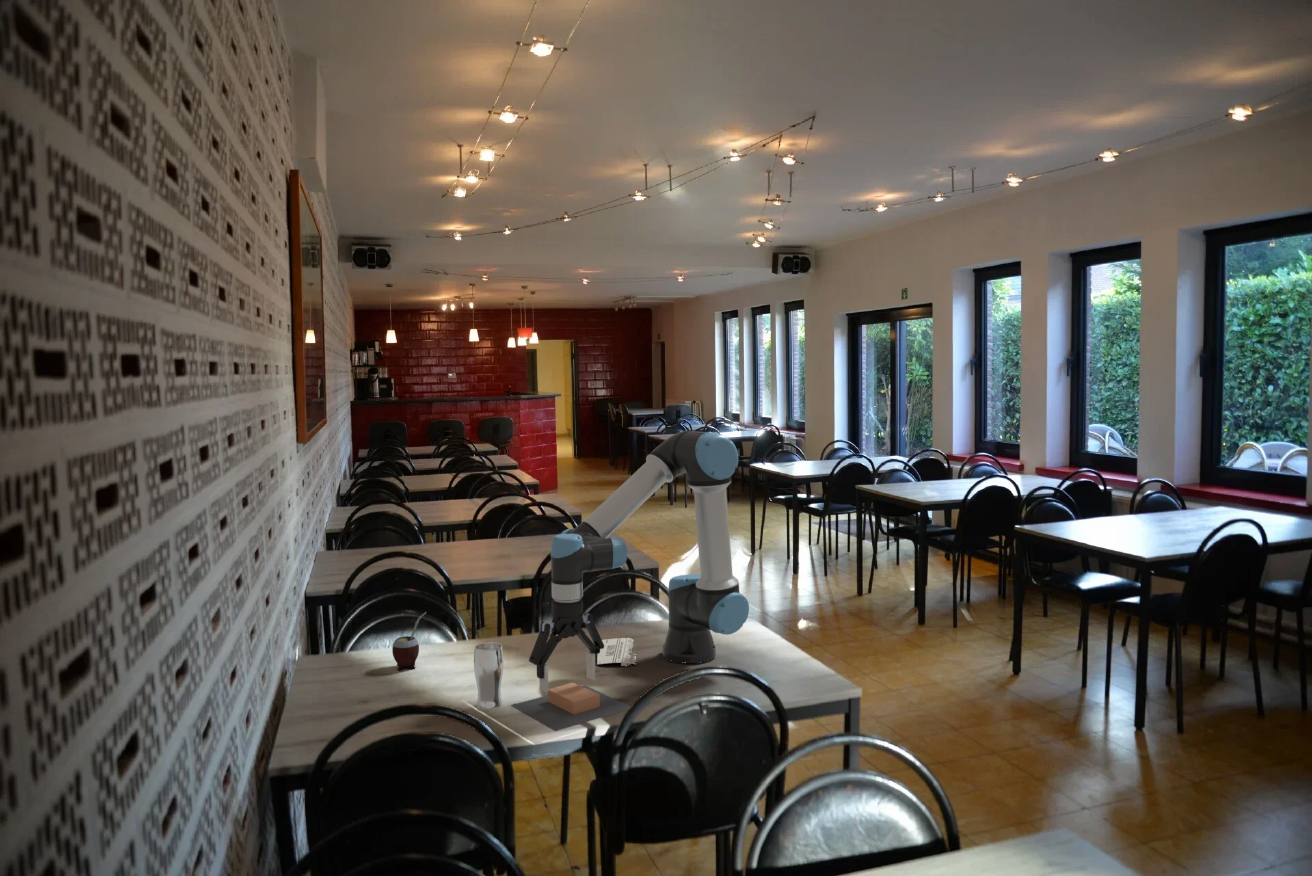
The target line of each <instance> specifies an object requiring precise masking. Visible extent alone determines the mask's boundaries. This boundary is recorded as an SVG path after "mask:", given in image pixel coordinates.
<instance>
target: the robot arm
mask: <svg viewBox="0 0 1312 876" xmlns="http://www.w3.org/2000/svg"><path fill="white" fill-rule="evenodd" d="M738 453H739V452H738V449H737V447H736V445H735V443H734V442H733V440H731V439H730V438H729V437H727V436H726V435H724V434H721V433H717V432H713V431H695V430H682V431H679V432H676V433H674V434H672V435H671V436H670V437H668V438H667V439H665V440H664V441H663V442H661V443H660V444H659V445H658V446H656V447H655V448H654V449H653V450H652V451H651V452H650V453H649V454H648V455H646V458H645V461H646V462H644V464H642V466H640V467H639V468H638V469H637V470H636V471H635V472H634V473H633V474H632V475H631V476H630V477H629V478H628V479H626V480H625V481H624V482H623V483H622V484H621V485H620V486H619V487H618V488H617V489H616V490H614V492H613V493H612V494H611V495H609V496H608V497H607V499H605V500H604V501H603V502H602V503H601V504H600V505H599V506H598V507H597V508H596V509H595V510H594V511H592V512H591V513H590V514H589V515H588V516H587V517H586V518H585V519H583V521H582V522H581V523H580V524H579V525H577V526H576V527H575V528H567V529H565V530H563V531H562V532H561V533H560V534H556V535H555V536H553V537H552V539H551V545H550V554H549V555H550V562H551V563H550V565H551V575H550V576H551V598H552V600H551V616H552V620H551V622H545V621H541V622H540V627H539V628H540V629H539V633H538V636H537V638H536V641H535V644H534V646H533V649H532V651H531V654H530V656H529V659H528V662H529V663H531V664H533V665H535V666H536V677H537V678H538V679H539V690H540V691H541V692H543V693H547V694H548V689H549V665H548V664H546V663H547V661H548V660H549V658H550V657H551V656H552V654H553V652H554V651H555V649H556V647H557V646H558V644H559V643H560V642H561V641H562V640H563V639H564V640H565V639H567V638H568V639H569V638H570V637H571V638H573V637H576V636H577V638H578V639H579V640H580V641H581V642H582V643H583V645H584V646H585V647H586V648H587V649H588V651H586V652H585V653H586V654H585V657H586V666H585V668H586V669H585V670H586V674H585V675H586V677H585V678H587V679H589V680H591V681H595V680H596V666H598V665H597V654H599V653H600V649H603V648H604V644H603V642H602V640H603V639H602V637H601V635H600V634H599V631H598V629H597V626H596V625H595V622H594V621H595V620H594V615H593V614H591V613H588V612H584V611H583V610H584V609H583V607H584V603H583V601H584V600H583V599H582V598H583V596H584V588H583V584H584V583H583V580H584V578H583V576H584V573H588V572H589V573H590V572H595V571H596V572H597V571H603V570H604V571H605V570H614V569H617V568H620V567H624V565H625V564H626V562H627V560H628V547H627V544H626V542H625V541H624V539H622V538H620V537H611V534H613V533H614V531H616V530H617V529H618V528H619V527H621V525H622V524H623V523H624V522H625V521H627V519H629V518H630V517H631V516H632V515H633V514H634V512H636V511H637V510H638V509H639V508H640V507H641V506H642V505H644V503H645V502H646V501H647V500H648V499H650V498H651V497H652V496H653V495H654V494H655V493H656V492H657V491H658V490H659V489H660V488H661V487H662V486H663V485H664V484H666V483H672V482H673V481H674V480H675V479H676V478H677V477H678V476H681V475H683V474H686V480H687V486H688V487H689V488H690V489H692V491H693V496H694V508H695V511H694V512H695V522H696V523H695V524H696V535H697V546H698V547H697V548H698V560H699V573H693V574H692V573H691V574H681V575H677V576H672V578H670V579H669V582H668V589H667V592H668V628H667V629H668V631H667V633H666V636H665V640H664V644H663V646H662V650H661V651H662V653H661V655H662V654H663V656H664V657H663V656H662V657H663V659H665V658H666V659H668V660H667V661H669V660H672V661H674V662H673V663H676V662H680V663H679V664H683V663H684V662H686V663H697V664H701V663H700V662H704V663H707V662H706V661H708V660H711V661H712V659H713V658H714V659H716V657H715V656H717V655H716V654H717V653H716V651H717V648H716V646H715V642H714V638H713V635H712V632H713V633H715V634H721V635H725V636H727V635H732V634H734V633H736V632H738V631H739V630H741V628H743V626H744V624H745V623H746V621H747V620H748V617H749V613H750V603H749V600H748V599H747V598H746V596H745V595H744V594H743V593H741V592H740V584H739V583H740V582H739V579H738V578H737V577H735V576H734V575H733V566H732V565H733V564H732V562H733V561H732V551H731V537H730V525H729V511H728V498H727V495H728V494H727V488H728V487H729V485H730V484H731V483H732V476H733V474H734V473H735V471H736V468H738V465H739V454H738ZM583 612H584V613H583ZM583 624H584V626H585V627H586V629H587V632H588V634H589V636H590V637H589V636H588V635H587V634H586V632H585V631H584V630H583V628H582V625H583ZM711 631H712V632H711ZM590 638H591V639H590ZM666 659H665V660H666ZM714 659H713V660H714ZM682 662H683V663H682ZM708 662H709V661H708Z"/></svg>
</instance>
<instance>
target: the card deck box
mask: <svg viewBox="0 0 1312 876" xmlns="http://www.w3.org/2000/svg"><path fill="white" fill-rule="evenodd" d="M582 686H583V685H580V684H577V683H575V682H570V683H569V682H568V683H566V684H562V685H560V686H559V685H558V686H555V687H551V688H548V692H547V695H548V702H550V703H552V704H554V705H556V706H558V707H560V708H562V709H564V710H566V711H568V712H570V713H572V714H578V713H581V712H584V711H587V710H591V709H594V708H597V707H600V695H599V694H597V693H595V692H593V691H591V690H588V689H586V688H584V687H582Z"/></svg>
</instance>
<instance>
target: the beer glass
mask: <svg viewBox="0 0 1312 876" xmlns="http://www.w3.org/2000/svg"><path fill="white" fill-rule="evenodd" d="M473 671H474V678H475V681H476V687H477V688H476V689H477V701H476V710H478V711H479V712H482V711H496V710H499V709H500V708H501V707H502V706H503V703H502V702H503V701H502V697H501V687H502V681H503V675H504V674H503V673H504V652H503V645H502V643H500V642H496V641H495V642H493V641H491V642H490V641H489V642H482V643H478V644H476V645H474V652H473Z"/></svg>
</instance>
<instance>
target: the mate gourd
mask: <svg viewBox="0 0 1312 876" xmlns="http://www.w3.org/2000/svg"><path fill="white" fill-rule="evenodd" d="M426 614H427V611H425V612H424V613H422V614H421V615H420V616H419V617H418V618H417V620H415V622H414V623H415V624H414V627H413V630H412V633H411V635H407V636H400V637H397V638H395V640H394V641H393V644H392V649H391V650H392V657H393V659H394V661H395V662H396V667H397V672H401V671H403V670H405V668H406V669H407V668H410V669H409V670H412V669H415V668H416V667H415V665H416V660H417V659H418V657H419V652H420V645H419V640H417V638H416V637H415V636H414V635H415V633H416V630H417V627H418V625H419V623H420V622H419V621H420V620H421V619H422V618H423V617H424V616H425V615H426ZM415 670H416V669H415Z"/></svg>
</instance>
